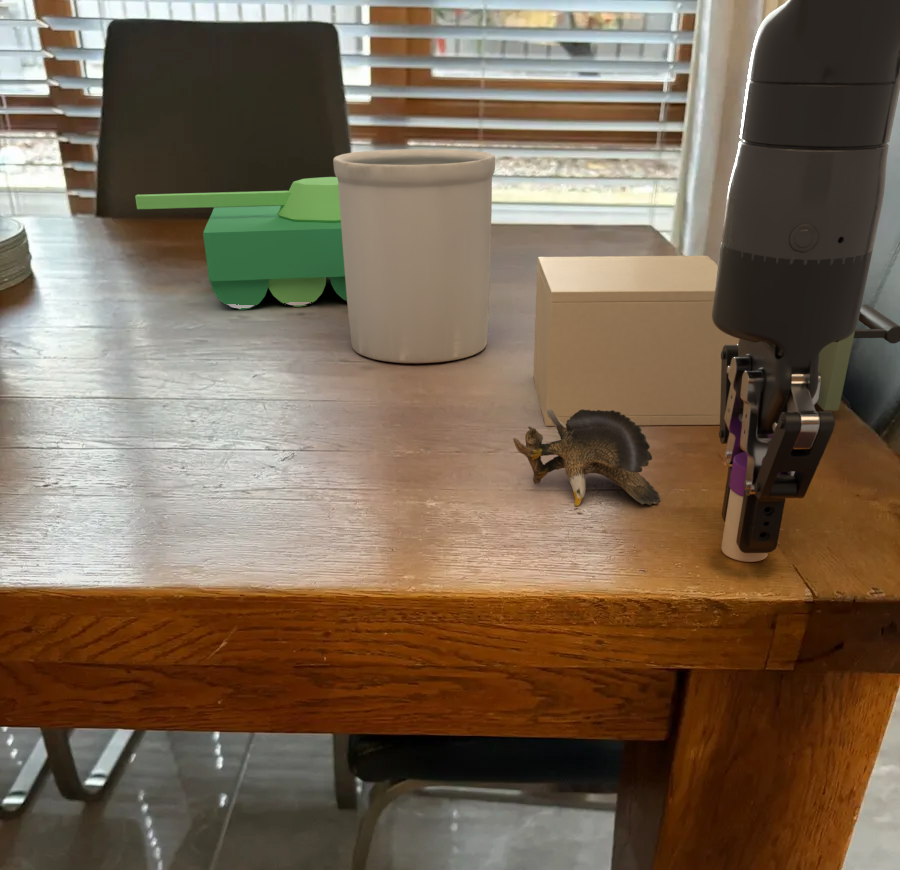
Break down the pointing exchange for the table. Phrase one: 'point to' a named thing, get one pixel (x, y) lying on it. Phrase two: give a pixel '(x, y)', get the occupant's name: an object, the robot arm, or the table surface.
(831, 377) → the drawer
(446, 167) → the utensil holder
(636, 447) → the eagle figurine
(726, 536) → the glue stick
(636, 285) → the cabinet
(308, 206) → the toy tank
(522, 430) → the table surface
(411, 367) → the table surface
